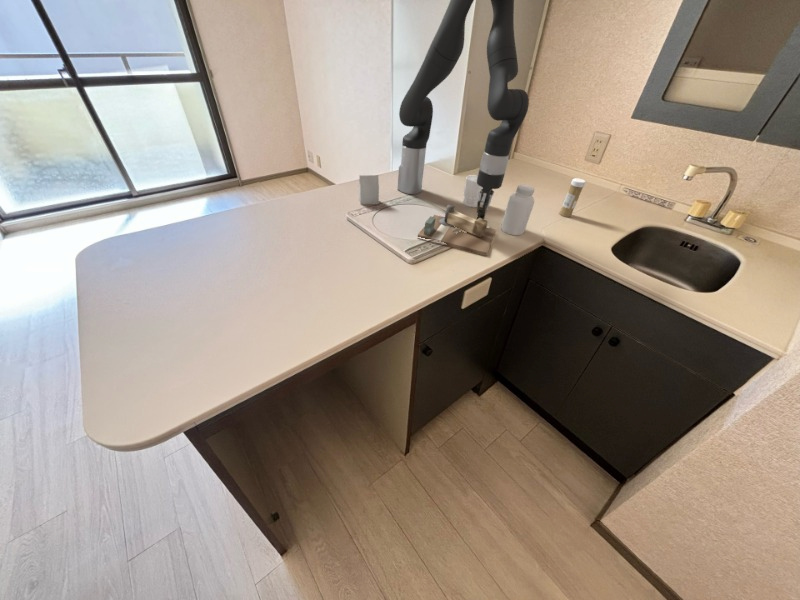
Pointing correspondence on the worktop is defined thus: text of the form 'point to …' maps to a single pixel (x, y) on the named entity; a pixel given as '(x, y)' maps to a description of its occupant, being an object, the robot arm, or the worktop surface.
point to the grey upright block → (368, 189)
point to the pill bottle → (518, 210)
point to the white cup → (471, 191)
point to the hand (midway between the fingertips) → (479, 223)
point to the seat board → (456, 236)
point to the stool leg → (465, 222)
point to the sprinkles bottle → (572, 197)
